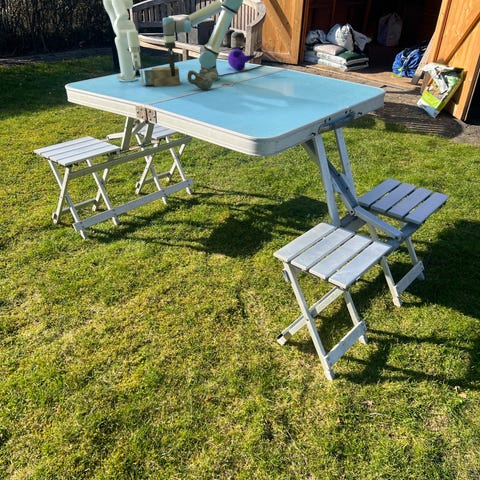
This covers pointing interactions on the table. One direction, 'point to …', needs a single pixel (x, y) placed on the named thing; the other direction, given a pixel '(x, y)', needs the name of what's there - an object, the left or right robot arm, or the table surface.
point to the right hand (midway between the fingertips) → (172, 75)
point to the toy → (238, 59)
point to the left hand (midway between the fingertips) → (138, 77)
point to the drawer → (146, 77)
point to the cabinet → (165, 76)
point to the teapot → (202, 78)
